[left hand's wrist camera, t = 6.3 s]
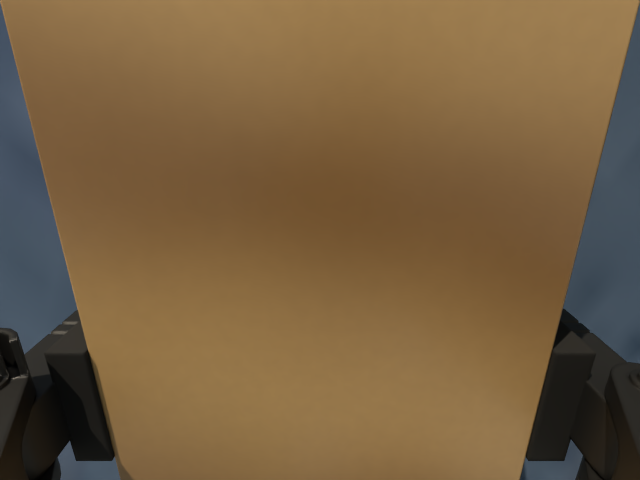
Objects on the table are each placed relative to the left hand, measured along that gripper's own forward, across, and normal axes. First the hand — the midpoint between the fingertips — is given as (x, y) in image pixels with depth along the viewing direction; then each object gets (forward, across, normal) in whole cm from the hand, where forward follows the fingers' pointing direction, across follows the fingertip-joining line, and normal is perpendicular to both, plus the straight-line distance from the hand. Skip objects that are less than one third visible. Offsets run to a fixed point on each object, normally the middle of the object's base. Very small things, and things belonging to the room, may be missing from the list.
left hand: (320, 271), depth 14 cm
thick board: (+1, 0, -19) cm, 19 cm away
